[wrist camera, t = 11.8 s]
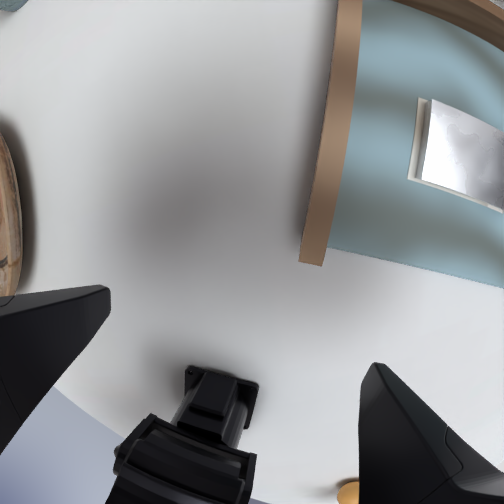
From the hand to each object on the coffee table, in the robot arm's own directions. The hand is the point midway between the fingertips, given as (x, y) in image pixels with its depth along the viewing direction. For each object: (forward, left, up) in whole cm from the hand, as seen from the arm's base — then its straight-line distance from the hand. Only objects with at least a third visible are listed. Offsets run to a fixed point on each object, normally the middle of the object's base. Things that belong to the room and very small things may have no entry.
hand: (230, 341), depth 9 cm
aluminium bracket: (+9, -12, -10) cm, 18 cm away
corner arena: (+10, -12, -11) cm, 19 cm away
